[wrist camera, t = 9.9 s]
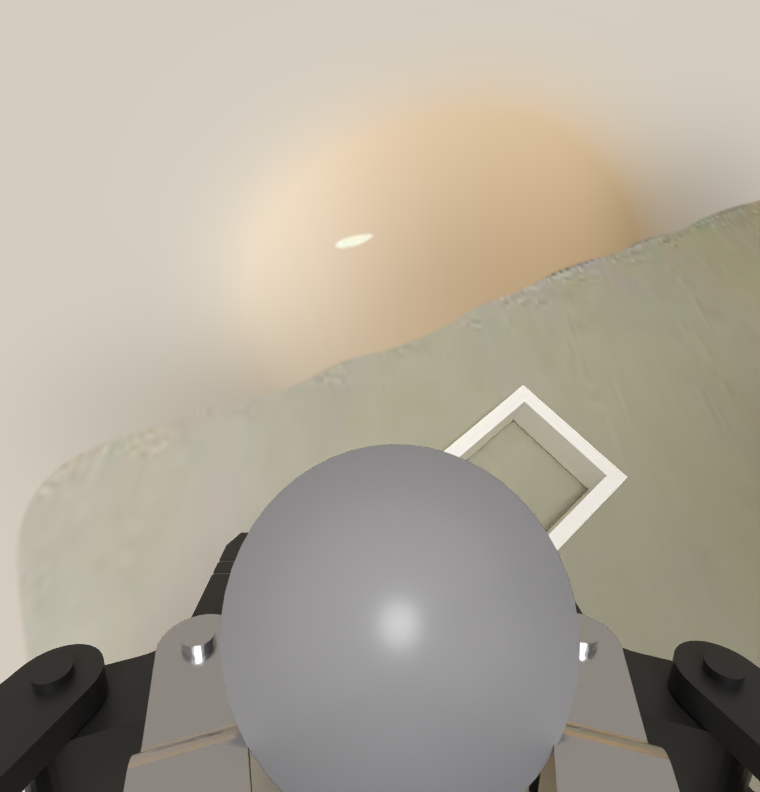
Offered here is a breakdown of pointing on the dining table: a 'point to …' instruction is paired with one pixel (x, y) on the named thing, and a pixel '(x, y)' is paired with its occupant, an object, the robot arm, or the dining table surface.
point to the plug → (399, 630)
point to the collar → (556, 442)
